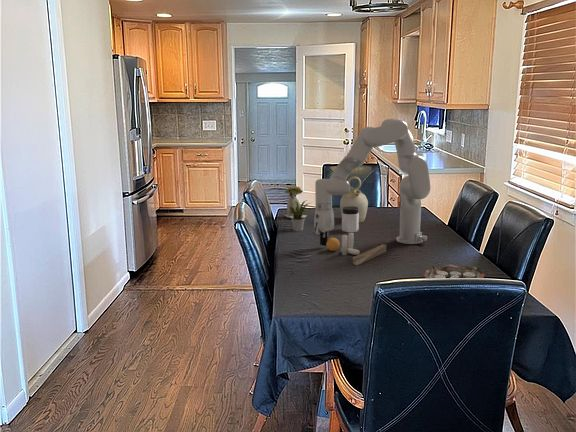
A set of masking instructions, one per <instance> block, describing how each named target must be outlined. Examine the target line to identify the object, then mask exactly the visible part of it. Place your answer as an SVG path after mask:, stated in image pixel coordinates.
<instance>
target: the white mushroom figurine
mask: <svg viewBox="0 0 576 432" xmlns="http://www.w3.org/2000/svg"><path fill="white" fill-rule="evenodd" d="M303 192H304V191H303V190H302V188H301V187H300V186H297V185H295V186H294V185H291V186H289V187H287V189H286V190H285V193H286V194H289V195H288V196H289V197H288V201H287V202H286V211H288V212H286V214H283V216H284V218H285V217H286V218H289V219H291V218H293V216H294V215H293V214H292V213H290V212H291V210H290V207H289V206H291V205H292V206H293V207H294V209H295V211H296V203H295V201H296V202H297V203H298V206H299V210H300V207H301V204H302V203H301V202H300V200H299V199H298V198H297V196H298V195H301V194H302V193H303ZM289 203H290V204H291V205H290V204H289ZM288 205H289V206H288ZM289 214H291V215H289ZM292 215H293V216H292ZM302 217H303V218H307V215H303V213H302Z"/></svg>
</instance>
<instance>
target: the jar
mask: <svg viewBox="0 0 576 432" xmlns="http://www.w3.org/2000/svg"><path fill="white" fill-rule="evenodd" d="M359 223H360V222H359V212H358V207H353V206H348V207H343V213H342V215H341V232H346V233H356V232H358V231H359V229H360V228H359V227H360V226H359V225H360V224H359Z"/></svg>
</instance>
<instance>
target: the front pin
mask: <svg viewBox="0 0 576 432" xmlns="http://www.w3.org/2000/svg"><path fill="white" fill-rule="evenodd" d="M360 251H361V250H360V249H356V248H354V249H351V248H348V247H347V254H348V255H349V254H350V255H353V256H354V255H355V256H357V255H360V254H361V253H360ZM340 252H341V253H342V247H340Z"/></svg>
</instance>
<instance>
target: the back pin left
mask: <svg viewBox="0 0 576 432" xmlns="http://www.w3.org/2000/svg"><path fill="white" fill-rule="evenodd" d="M341 248H342V252H341V255H342V256H347V255H348V253H347V248H348V235H346V234H343V235H341Z"/></svg>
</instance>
